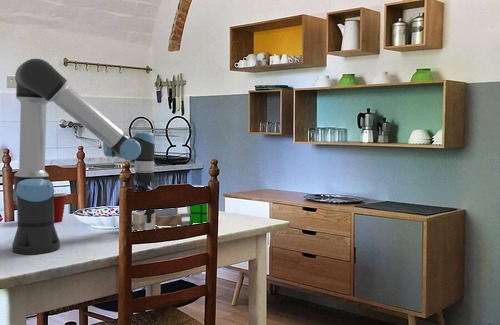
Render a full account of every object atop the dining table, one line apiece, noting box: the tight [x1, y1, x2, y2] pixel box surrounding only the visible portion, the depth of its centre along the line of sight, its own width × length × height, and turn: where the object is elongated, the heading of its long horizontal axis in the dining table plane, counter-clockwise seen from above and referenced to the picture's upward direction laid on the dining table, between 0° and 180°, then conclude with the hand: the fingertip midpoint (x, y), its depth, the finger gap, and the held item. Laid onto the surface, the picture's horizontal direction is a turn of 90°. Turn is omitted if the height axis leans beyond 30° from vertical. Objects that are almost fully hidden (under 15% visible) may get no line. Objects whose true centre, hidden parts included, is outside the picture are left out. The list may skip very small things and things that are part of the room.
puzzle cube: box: [189, 204, 207, 225], centre depth 240 cm, size 10×10×10 cm
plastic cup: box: [54, 192, 68, 224], centre depth 237 cm, size 11×11×12 cm
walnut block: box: [155, 213, 183, 226], centre depth 233 cm, size 10×10×5 cm
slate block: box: [154, 207, 179, 216], centre depth 233 cm, size 9×5×4 cm, turn 123°
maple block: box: [131, 210, 156, 231], centre depth 220 cm, size 7×7×7 cm
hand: (143, 229), depth 220 cm, fingers closed on maple block, 7 cm apart
